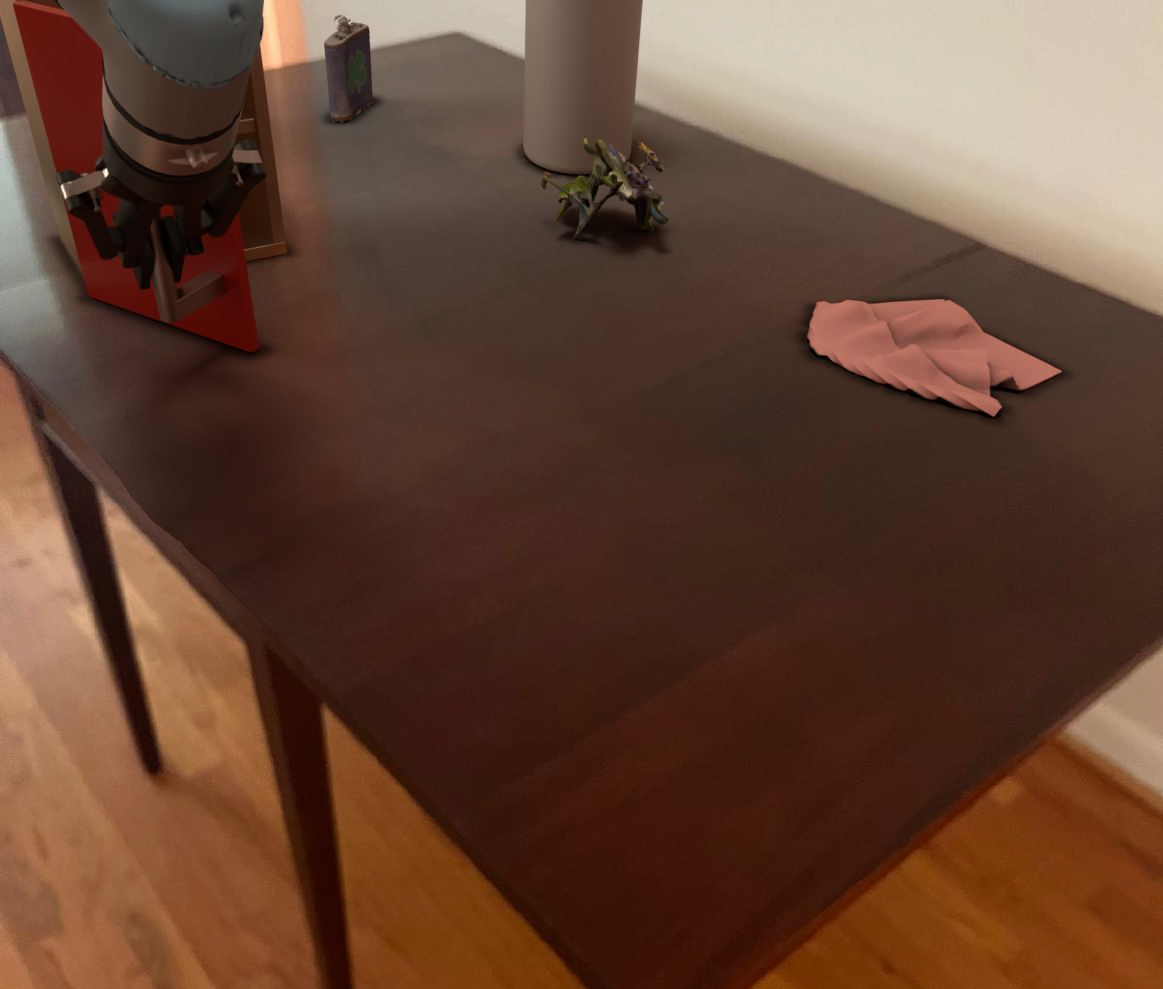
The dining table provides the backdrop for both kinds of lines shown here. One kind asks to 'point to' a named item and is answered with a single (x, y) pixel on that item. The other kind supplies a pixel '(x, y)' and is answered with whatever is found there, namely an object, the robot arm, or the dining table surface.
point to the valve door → (75, 135)
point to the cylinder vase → (579, 79)
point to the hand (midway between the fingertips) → (154, 269)
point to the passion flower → (613, 186)
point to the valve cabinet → (263, 201)
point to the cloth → (923, 350)
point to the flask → (348, 69)
